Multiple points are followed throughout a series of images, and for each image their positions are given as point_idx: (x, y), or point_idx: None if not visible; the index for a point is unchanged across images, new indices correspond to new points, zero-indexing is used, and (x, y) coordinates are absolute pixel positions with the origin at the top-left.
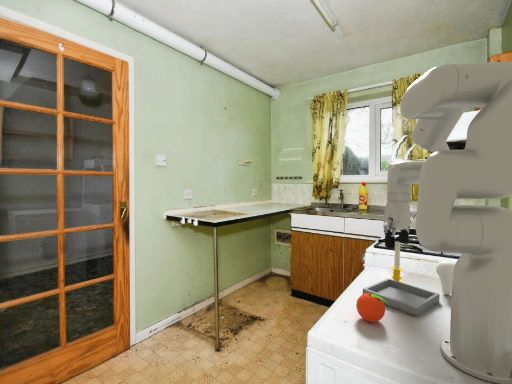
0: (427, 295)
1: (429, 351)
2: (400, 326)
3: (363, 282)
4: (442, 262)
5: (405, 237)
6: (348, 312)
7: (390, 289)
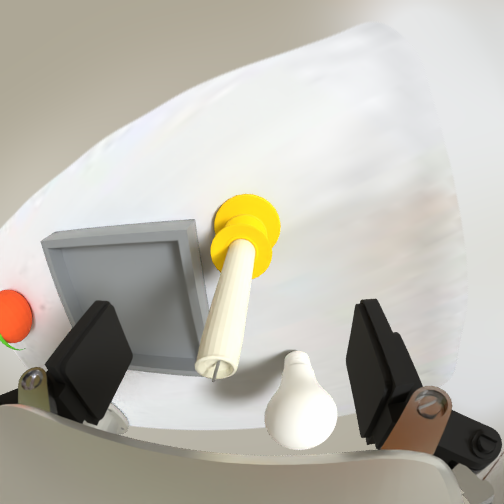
0: None
1: None
2: (56, 341)
3: (132, 148)
4: (285, 436)
5: (357, 397)
6: (5, 264)
7: (150, 258)
